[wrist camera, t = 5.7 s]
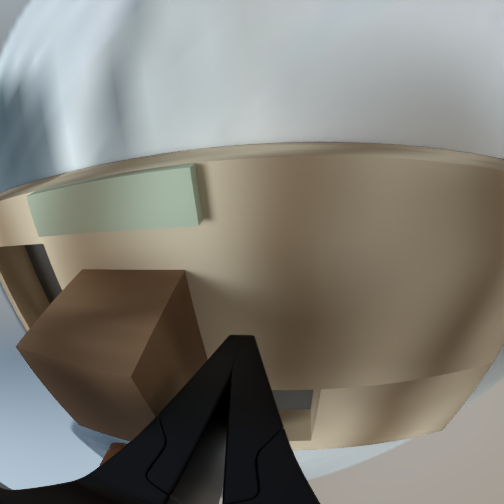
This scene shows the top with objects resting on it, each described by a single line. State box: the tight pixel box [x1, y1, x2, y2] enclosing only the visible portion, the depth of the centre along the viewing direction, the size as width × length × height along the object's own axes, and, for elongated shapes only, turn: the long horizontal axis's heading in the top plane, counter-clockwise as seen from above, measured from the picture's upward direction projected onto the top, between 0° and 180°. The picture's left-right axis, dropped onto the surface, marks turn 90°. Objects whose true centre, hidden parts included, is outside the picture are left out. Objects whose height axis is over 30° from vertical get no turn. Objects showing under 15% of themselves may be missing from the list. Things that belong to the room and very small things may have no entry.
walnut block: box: [16, 269, 208, 441], centre depth 8 cm, size 4×4×4 cm
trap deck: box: [0, 142, 504, 450], centre depth 12 cm, size 24×16×3 cm, turn 95°
